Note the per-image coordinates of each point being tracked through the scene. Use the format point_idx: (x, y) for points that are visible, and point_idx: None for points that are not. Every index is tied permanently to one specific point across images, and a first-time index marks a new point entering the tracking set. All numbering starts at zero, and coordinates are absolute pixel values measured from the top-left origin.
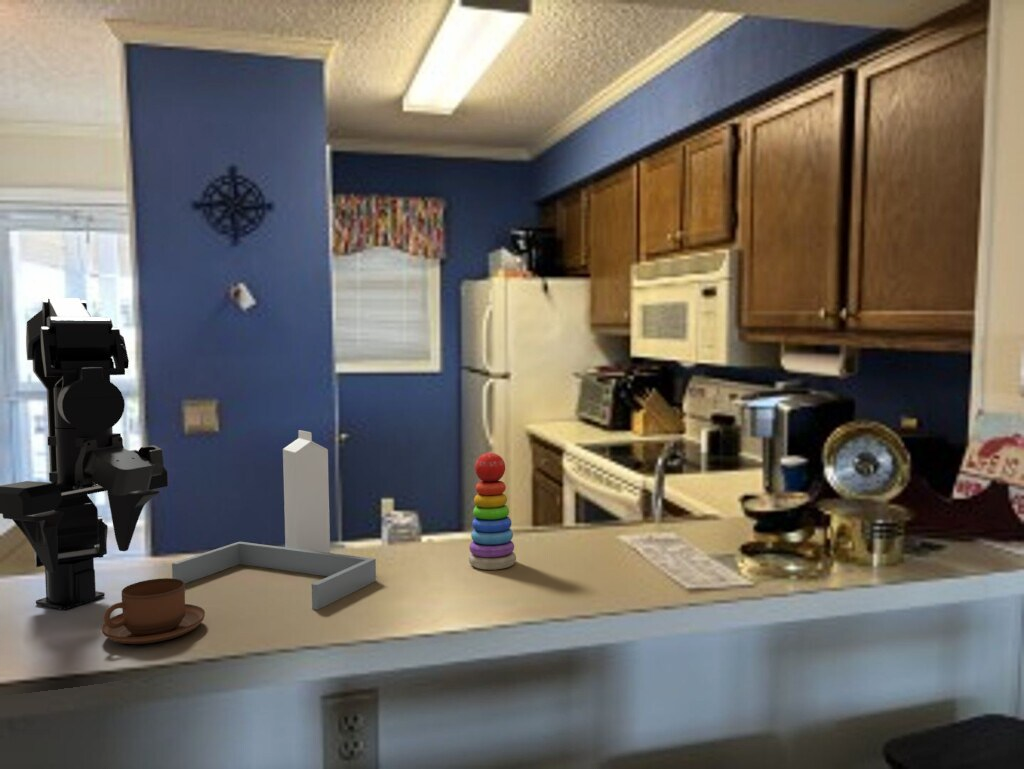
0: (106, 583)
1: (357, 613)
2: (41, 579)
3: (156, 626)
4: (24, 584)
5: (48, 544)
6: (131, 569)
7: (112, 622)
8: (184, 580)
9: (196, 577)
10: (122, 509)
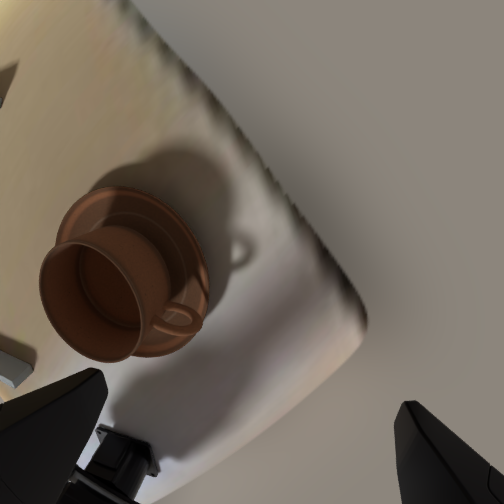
0: None
1: (6, 41)
2: None
3: (146, 239)
4: None
5: (492, 468)
6: None
7: (189, 315)
8: (20, 363)
9: (9, 356)
10: (11, 489)
